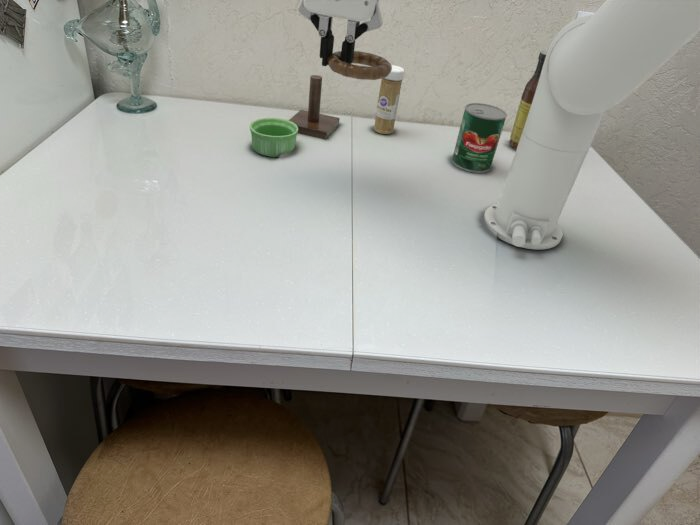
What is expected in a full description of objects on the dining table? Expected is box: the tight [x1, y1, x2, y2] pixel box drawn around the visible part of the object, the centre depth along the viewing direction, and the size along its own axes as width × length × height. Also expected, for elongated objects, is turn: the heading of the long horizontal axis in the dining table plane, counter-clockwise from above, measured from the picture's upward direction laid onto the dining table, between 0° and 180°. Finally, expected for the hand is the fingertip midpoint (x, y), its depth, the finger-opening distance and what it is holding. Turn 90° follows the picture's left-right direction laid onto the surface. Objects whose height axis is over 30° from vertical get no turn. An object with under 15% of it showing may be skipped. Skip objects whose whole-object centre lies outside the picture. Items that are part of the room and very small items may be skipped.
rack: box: [288, 74, 340, 140], centre depth 101 cm, size 9×9×10 cm
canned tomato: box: [451, 102, 508, 174], centre depth 95 cm, size 8×8×11 cm
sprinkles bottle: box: [373, 64, 405, 135], centre depth 103 cm, size 5×5×14 cm
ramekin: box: [249, 117, 299, 158], centre depth 93 cm, size 9×9×4 cm
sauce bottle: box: [509, 50, 548, 150], centre depth 103 cm, size 6×6×20 cm
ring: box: [327, 50, 392, 81], centre depth 74 cm, size 10×10×2 cm
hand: (335, 64), depth 75 cm, fingers closed on ring, 2 cm apart
